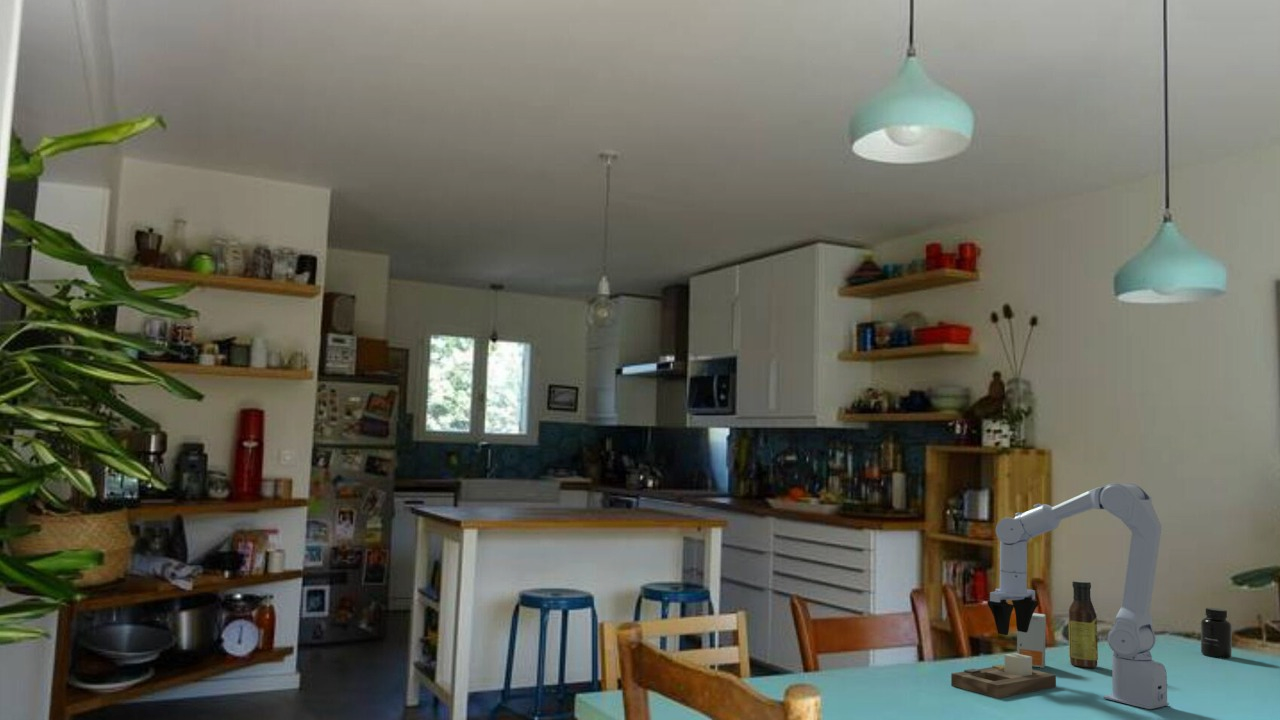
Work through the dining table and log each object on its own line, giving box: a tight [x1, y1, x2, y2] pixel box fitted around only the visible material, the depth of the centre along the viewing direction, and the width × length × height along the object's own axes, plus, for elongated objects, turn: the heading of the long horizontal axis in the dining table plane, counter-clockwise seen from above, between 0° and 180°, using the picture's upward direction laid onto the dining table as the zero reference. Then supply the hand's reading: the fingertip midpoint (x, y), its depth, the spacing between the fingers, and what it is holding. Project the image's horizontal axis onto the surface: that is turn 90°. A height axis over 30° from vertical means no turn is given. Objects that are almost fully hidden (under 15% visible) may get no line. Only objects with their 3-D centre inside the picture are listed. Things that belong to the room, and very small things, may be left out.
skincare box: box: [1016, 612, 1047, 669], centre depth 222 cm, size 6×4×12 cm
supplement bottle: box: [1200, 607, 1233, 659], centre depth 244 cm, size 7×7×12 cm
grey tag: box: [963, 668, 981, 674], centre depth 199 cm, size 2×3×1 cm, turn 125°
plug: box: [1004, 652, 1033, 676], centre depth 201 cm, size 4×4×6 cm
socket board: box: [950, 666, 1057, 699], centre depth 198 cm, size 11×21×2 cm, turn 125°
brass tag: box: [991, 663, 1005, 669], centre depth 205 cm, size 2×3×1 cm, turn 125°
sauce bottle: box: [1068, 580, 1099, 669], centre depth 224 cm, size 7×6×20 cm
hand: (1012, 633), depth 209 cm, fingers open, 7 cm apart
